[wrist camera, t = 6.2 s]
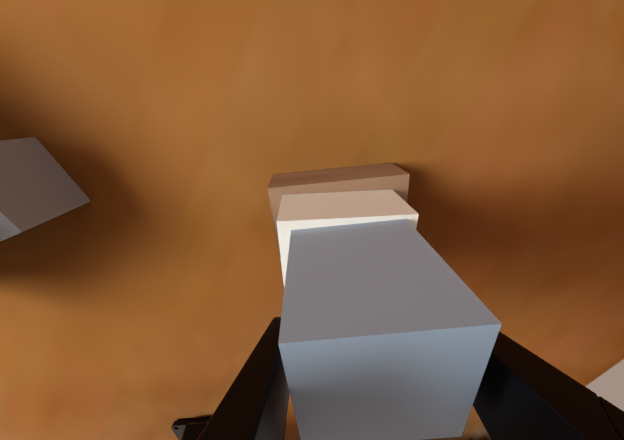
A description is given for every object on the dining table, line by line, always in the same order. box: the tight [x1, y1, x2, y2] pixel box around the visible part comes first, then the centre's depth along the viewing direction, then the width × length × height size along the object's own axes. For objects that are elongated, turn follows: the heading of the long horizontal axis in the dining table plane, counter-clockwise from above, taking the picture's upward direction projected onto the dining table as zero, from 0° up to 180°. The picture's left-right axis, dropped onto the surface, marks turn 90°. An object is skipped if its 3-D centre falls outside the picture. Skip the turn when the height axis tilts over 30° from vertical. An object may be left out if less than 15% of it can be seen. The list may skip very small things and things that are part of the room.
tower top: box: [276, 189, 419, 288], centre depth 12 cm, size 6×6×3 cm
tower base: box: [267, 163, 410, 260], centre depth 14 cm, size 7×7×3 cm
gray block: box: [278, 219, 501, 440], centre depth 8 cm, size 4×4×5 cm
